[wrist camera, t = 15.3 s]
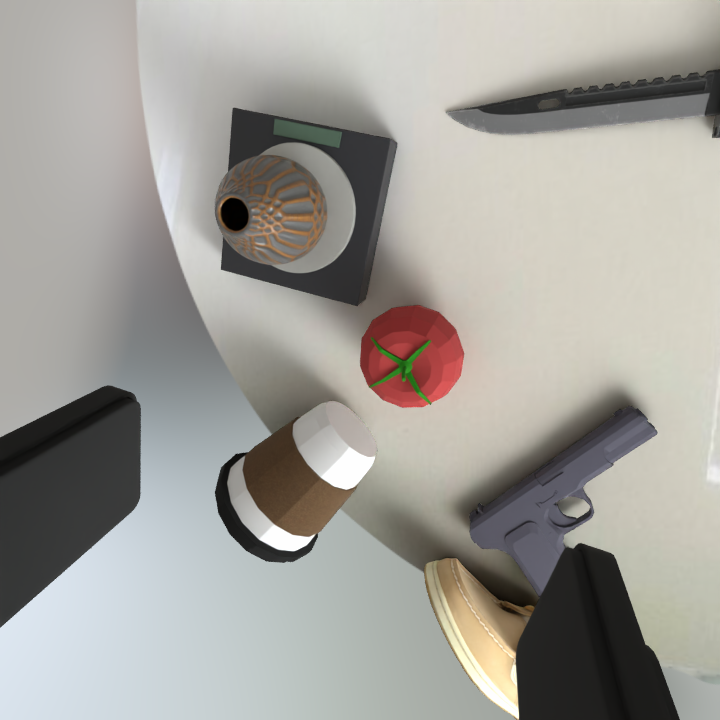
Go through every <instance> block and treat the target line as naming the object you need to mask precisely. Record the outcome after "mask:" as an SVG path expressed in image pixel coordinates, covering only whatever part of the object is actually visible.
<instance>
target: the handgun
mask: <svg viewBox="0 0 720 720" xmlns="http://www.w3.org/2000/svg"><path fill="white" fill-rule="evenodd" d="M613 414H614V415H615V416H613V417H612V418H611V419H609V420H608V421H606V422H605V423H603V424H602V425H601V426H599V427H598V428H596V429H595V430H593V431H592V432H591V433H589V434H588V435H586V436H585V437H583V438H582V439H580V440H579V441H578V442H576V443H575V444H573V445H572V446H570V447H569V448H568V449H566V450H565V451H563V452H562V453H560V454H559V455H558V456H556V457H555V458H553V459H552V460H550V461H549V462H548V463H546V464H545V465H543V466H542V467H540V468H539V469H538V470H536V471H535V472H533V473H532V474H530V475H529V476H528V477H526V478H525V479H523V480H522V481H520V482H519V483H518V484H516V485H515V486H513V487H512V488H510V489H509V490H508V491H506V492H505V493H503V494H502V495H500V496H499V497H498V498H496V499H495V500H493V501H492V502H490V503H489V504H488V505H486V506H483V505H481V504H480V503H479V504H478V511H476V510H475V511H472V512H471V513H470V516H469V517H470V535H471V538H472V540H473V542H474V543H476V544H477V545H478V546H479V547H481V548H482V549H498V550H501V551H504V552H506V553H508V554H509V555H510V556H511V557H512V558H513V559H514V560H515V561H516V562H517V564H518V565H519V567H520V568H521V570H522V571H523V573H524V574H525V576H526V577H527V579H528V581H529V582H530V584H531V585H532V587H533V588H534V590H535V591H536V593H537V594H538V596H539V598H540V596H541V594H542V592H543V590H544V588H545V586H546V584H547V582H548V580H549V578H550V576H551V574H552V572H553V570H554V568H555V566H556V564H557V562H558V560H559V558H560V556H561V554H562V552H563V550H564V549H565V548H566V546H565V545H564V543H563V539H564V535H565V534H566V533H568V532H570V531H571V530H573V529H575V528H576V527H578V526H580V525H581V524H583V523H585V522H586V521H588V520H589V519H591V518H592V516H593V514H594V510H593V506H592V503H591V500H590V499H589V498H588V496H587V495H586V494H585V492H584V490H583V486H584V485H585V484H586V483H587V482H588V481H590V480H591V479H593V478H594V477H596V476H598V475H599V474H601V473H602V472H604V471H605V470H607V469H608V468H610V467H611V466H613V463H614V462H615V461H617V460H618V459H620V458H621V457H623V456H624V455H626V454H628V453H629V452H631V451H632V450H634V449H635V448H637V447H638V446H640V445H641V444H643V443H644V442H646V441H648V440H649V439H651V438H652V437H654V436H655V435H657V433H658V432H657V431H656V429H655V427H654V426H653V425H652V424H651V423H649V422H648V421H647V420H648V419H647V418H646V416H645V415H644V414H643V413H642V412H641V411H640V410H639V409H634V408H633V407H632V406H628V407H626V408H625V409H623V410H621V409H620V410H618V411H616V412H615V413H613ZM567 496H574V497H578V498H581V499H584V500H585V501H586V502H587V503H588V504H589V505H590V507H591V508H590V509H589V511H588V512H587V513H585V514H584V515H582V516H581V517H579V518H576V517H570V516H566V515H564V514H563V513H562V512H561V511H560V510H559V508H558V504H556V502H558V501H560V500H562V499H563V498H565V497H567Z"/></svg>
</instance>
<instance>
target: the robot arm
mask: <svg viewBox="0 0 720 720" xmlns="http://www.w3.org/2000/svg"><path fill="white" fill-rule="evenodd" d="M140 416H141V408H140V404H139V403H138V402H137V400H136V397H135V395H134V394H133V393H131V392H128V391H125V390H122V389H119V388H116V387H113V386H104V387H102V388H100V389H98V390H96V391H94V392H92V393H90V394H87V395H85V396H84V397H81V398H79V399H77V400H75V401H73V402H71V403H69V404H67V405H65V406H63V407H61V408H59V409H57V410H55V411H53V412H51V413H49V414H47V415H45V416H43V417H41V418H39V419H37V420H35V421H33V422H31V423H29V424H27V425H25V426H23V427H20V428H19V429H16V430H14V431H12V432H10V433H8V434H6V435H4V436H2V437H0V627H1V626H3V625H4V624H5V623H6V622H7V621H8V620H9V619H10V618H12V617H13V616H14V615H15V614H16V613H17V612H18V611H20V610H21V609H22V608H23V607H24V606H25V605H26V604H27V603H29V602H30V601H31V600H32V599H33V598H34V597H36V596H37V595H38V594H39V593H40V592H41V591H42V590H43V589H44V588H46V587H47V586H48V585H49V584H50V583H51V582H53V581H54V580H55V579H56V578H57V577H58V576H59V575H61V574H62V573H63V572H64V571H65V570H66V569H67V568H68V567H70V566H71V565H72V564H73V563H74V562H75V561H76V560H77V559H79V558H80V557H81V556H82V555H83V554H84V553H85V552H87V551H88V550H89V549H90V548H91V547H92V546H93V545H94V544H96V543H97V542H98V541H99V540H100V539H101V538H102V537H103V536H105V535H106V534H107V533H108V532H109V531H110V530H112V529H113V528H114V527H115V526H116V525H117V524H118V523H119V522H121V521H122V520H123V519H124V518H125V517H126V516H127V515H129V514H130V513H131V512H132V511H133V510H134V508H135V507H136V506H137V504H138V502H139V499H140V445H141V443H140V442H141V440H140V437H141V434H140V433H141V432H140V431H141V430H140V429H141V424H140V423H141V422H140V421H141V417H140ZM516 676H517V694H518V712H519V720H680V719H679V716H678V714H677V710H676V708H675V705H674V702H673V699H672V697H671V694H670V691H669V688H668V686H667V683H666V680H665V678H664V675H663V672H662V669H661V666H660V664H659V661H658V659H657V657H656V655H655V653H654V651H653V650H652V649H651V648H650V647H649V646H647V645H645V642H644V639H643V636H642V633H641V630H640V627H639V625H638V622H637V619H636V616H635V613H634V610H633V607H632V604H631V601H630V599H629V596H628V593H627V590H626V587H625V584H624V581H623V578H622V576H621V573H620V570H619V567H618V564H617V561H616V559H615V557H614V555H613V554H611V553H609V552H606V551H603V550H600V549H597V548H594V547H591V546H588V545H585V544H582V543H579V544H577V545H576V546H575V548H574V549H572V548H569V547H566V548H565V549H564V550H563V552H562V554H561V556H560V558H559V560H558V562H557V564H556V566H555V568H554V570H553V572H552V574H551V576H550V578H549V580H548V582H547V584H546V586H545V588H544V590H543V592H542V594H541V596H540V598H539V600H538V602H537V604H536V606H535V608H534V610H533V613H532V615H531V617H530V619H529V621H528V623H527V625H526V627H525V629H524V631H523V633H522V635H521V637H520V639H519V641H518V645H517V650H516Z"/></svg>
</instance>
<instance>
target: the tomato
mask: <svg viewBox="0 0 720 720" xmlns="http://www.w3.org/2000/svg"><path fill="white" fill-rule="evenodd" d="M463 358H464V352H463V349H462V346H461V343H460V340H459V337H458V334H457V331H456V329H455V328H454V327H453V326H452V325H451V324H450V323H449V322H448V321H447V320H446V319H445V318H444V317H443V316H442V315H441V314H440V313H439V312H437V311H434V310H431V309H429V308H426V307H423V306H420V305H414V306H404V307H395V308H391V309H390V310H388V311H387V312H385V313H383V314H382V315H380V316H379V317H377V318H375V319H374V320H373V321H372V322H371V324H370V326H369V327H368V329H367V331H366V332H365V334H364V336H363V337H362V340H361V355H360V367H361V369H362V372H363V374H364V377H365V379H366V382H367V384H368V386H369V387H370V388H371V389H372V390H373V391H374V392H375V393H376V394H377V395H378V396H379V397H380V398H381V399H382V400H385V401H387V402H390V403H392V404H395V405H397V406H400V407H402V408H403V407H424V406H426V405H428V404H430V405H431V404H432V402H434V401H436V400H438V399H440V398H442V397H443V396H445V395H446V394H448V392H449V391H450V390H451V388H452V387H453V386H454V384H455V383H456V382H457V380H458V379H459V378H460V376H461V371H462V364H463Z"/></svg>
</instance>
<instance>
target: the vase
mask: <svg viewBox="0 0 720 720" xmlns="http://www.w3.org/2000/svg"><path fill="white" fill-rule="evenodd" d="M215 216H216V220H217V223H218V226H219V229H220V231H221V233H222V235H223V237H224V238H225V240H226V241H227V242H228V244H229V245H230V246H231V247H232V248H233V249H234V250H235V251H237V252H238V253H239V254H241V255H242V256H244V257H246V258H248V259H250V260H252V261H255V262H258V263H262V264H268V265H281V264H286V263H290V262H293V261H295V260H298V259H300V258H301V257H303V256H305V255H306V254H308V253H309V252H310V251H311V250H312V249H313V248H314V247H315V246H316V245H317V243H318V242H319V240H320V239H321V237H322V235H323V233H324V230H325V227H326V223H327V202H326V198H325V195H324V192H323V190H322V188H321V186H320V184H319V182H318V181H317V179H316V178H315V177H314V176H313V174H312V173H311V172H310V171H308V170H307V169H306V168H305V167H304V166H302V165H301V164H299V163H298V162H296V161H293V160H291V159H289V158H285V157H282V156H277V155H259V156H254V157H251V158H248V159H246V160H244V161H242V162H240V163H239V164H237V165H236V166H234V167H233V168H232V169H231V170H230V171H229V172H228V173H227V174H226V175H225V177H224V178H223V180H222V181H221V183H220V185H219V188H218V191H217V194H216V199H215Z"/></svg>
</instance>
